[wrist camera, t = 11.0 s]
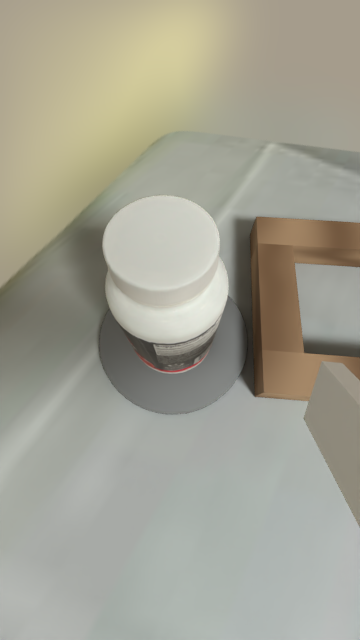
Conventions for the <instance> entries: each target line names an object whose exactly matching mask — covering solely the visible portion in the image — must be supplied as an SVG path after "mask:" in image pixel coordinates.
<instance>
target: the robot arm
mask: <svg viewBox="0 0 360 640" xmlns="http://www.w3.org/2000/svg"><path fill="white" fill-rule="evenodd" d="M304 420H305V422H306V424H307V426H308V428H309V430H310V432H311V434H312V436H313V438H314V440H315V441H316V443H317V445H318V447H319V449H320V451H321V453H322V455H323V457H324V459H325V461H326V463H327V465H328V467H329V469H330V471H331V472H332V474H333V476H334V478H335V480H336V482H337V484H338V486H339V488H340V490H341V492H342V494H343V496H344V498H345V500H346V502H347V503H348V505H349V507H350V509H351V511H352V513H353V515H354V517H355V519H356V521H357V523H358V525H359V527H360V381H359V379H358V378H357V377H356V376H355V375H354V374H353V373H352V372H351V371H350V370H349V369H348V368H347V367H346V366H345V365H344V364H343V363H337V362H326V361H322V362H321V365H320V368H319V371H318V375H317V378H316V381H315V384H314V387H313V390H312V394H311V397H310V400H309V403H308V406H307V409H306V412H305V416H304Z"/></svg>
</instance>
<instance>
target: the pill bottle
mask: <svg viewBox="0 0 360 640" xmlns="http://www.w3.org/2000/svg"><path fill="white" fill-rule="evenodd" d="M102 249H103V255H104V259H105V262H106V264H107V267H108V272H107V275H106V281H105V294H106V299H107V302H108V305H109V308H110V310H111V312H112V314H113V316H114V318H115V320H116V321H117V323H118V324H119V326H120V327H121V329H122V330H123V331H124V333H125V335H126V337H127V339H128V341H129V342H130V344H131V346H132V347H133V349H134V350H135V352H136V353H137V355H138V356H139V358H140V359H141V360H142V361H143V362H144V363H145V364H146V365H147V366H148V367H150V368H152V369H154V370H156V371H158V372H162V373H168V374H177V373H183V372H186V371H188V370H190V369H192V368H194V367H196V366H197V365H198V364H200V363H201V362H202V361H203V360H204V358H205V357H206V356H207V354H208V352H209V350H210V348H211V346H212V343H213V340H214V337H215V334H216V331H217V328H218V325H219V322H220V319H221V316H222V313H223V310H224V308H225V305H226V301H227V297H228V289H229V283H228V275H227V272H226V268H225V266H224V263H223V262H222V260H221V258H220V257H219V249H220V237H219V232H218V229H217V226H216V224H215V222H214V220H213V219H212V217H211V216H210V215H209V214H208V213H207V212H206V211H205V210H204V209H203V208H202V207H200V206H199V205H197V204H196V203H194V202H192V201H190V200H187V199H184V198H181V197H177V196H170V195H156V196H149V197H145V198H141V199H138V200H136V201H134V202H132V203H130V204H128V205H126V206H125V207H123V208H122V209H121V210H119V211H118V212H117V213H116V214H115V215H114V216H113V217H112V218H111V220H110V221H109V223H108V225H107V227H106V229H105V231H104V234H103V240H102Z"/></svg>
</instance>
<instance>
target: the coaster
mask: <svg viewBox="0 0 360 640" xmlns="http://www.w3.org/2000/svg"><path fill="white" fill-rule="evenodd" d="M247 344H248V340H247V331H246V326H245V323H244V320H243V317H242V315H241V313H240V311H239V309H238V307H237V306H236V304H235V303H234V302H233V300H232V299H231V298H230V297H229V296H228V297H227V301H226V305H225V308H224V310H223V313H222V316H221V319H220V322H219V325H218V328H217V331H216V334H215V337H214V340H213V343H212V346H211V348H210V350H209V352H208V354H207V356H206V357H205V358H204V360H203V361H202V362H201V363H200V364H198V365H197V366H196V367H194V368H192V369H190V370H188V371H186V372H183V373H177V374H168V373H162V372H158V371H156V370H154V369H152V368H150V367H148V366H147V365H146V364H145V363H144V362H143V361H142V360H141V359H140V358H139V356H138V355H137V353H136V352H135V350H134V349H133V347H132V346H131V344H130V342H129V341H128V339H127V337H126V335H125V333H124V331H123V330H122V329H121V327H120V326H119V324H118V323H117V321H116V320H115V318H114V316H113V314H112V312H111V310H110V308H109V310H108V312H107V314H106V316H105V318H104V321H103V324H102V327H101V331H100V338H99V350H100V357H101V361H102V364H103V368H104V370H105V372H106V374H107V376H108V378H109V380H110V381H111V383H112V384H113V385H114V387H115V388H116V389H117V390H118V391H119V392H120V393H121V394H122V395H123V396H124V397H125V398H126V399H128V400H129V401H131V402H133V403H134V404H136V405H137V406H140V407H142V408H144V409H146V410H149V411H153V412H156V413H162V414H184V413H189V412H193V411H197V410H199V409H202V408H204V407H207V406H208V405H210V404H212V403H213V402H215V401H217V400H218V399H219V398H220V397H221V396H223V395H224V394H225V393H226V392H227V391H228V390H229V389H230V388H231V387H232V385H233V384H234V383H235V381H236V380H237V378H238V377H239V375H240V373H241V371H242V368H243V365H244V363H245V359H246V354H247Z"/></svg>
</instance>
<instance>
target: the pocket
mask: <svg viewBox="0 0 360 640" xmlns="http://www.w3.org/2000/svg"><path fill="white" fill-rule="evenodd" d="M250 251H251V285H252V320H253V354H254V389H255V397H265V398H277V399H289V400H301V401H309V400H310V397H311V394H312V390H313V387H314V384H315V381H316V378H317V375H318V371H319V368H320V365H321V362H322V361H326V362H337V363H343V364H344V365H345V366H346V367H347V368H348V369H349V370H350V371H351V372H352V373H353V374H354V375H355V376H356V377H357V378H358V379H359V381H360V357H347V356H334V355H321V354H308V353H304V347H303V337H302V328H301V319H300V309H299V300H298V291H297V281H296V272H295V263H306V264H322V265H337V266H352V267H360V223H353V222H337V221H320V220H303V219H287V218H270V217H256V220H255V222H254V225H253V228H252V231H251V234H250Z"/></svg>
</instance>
